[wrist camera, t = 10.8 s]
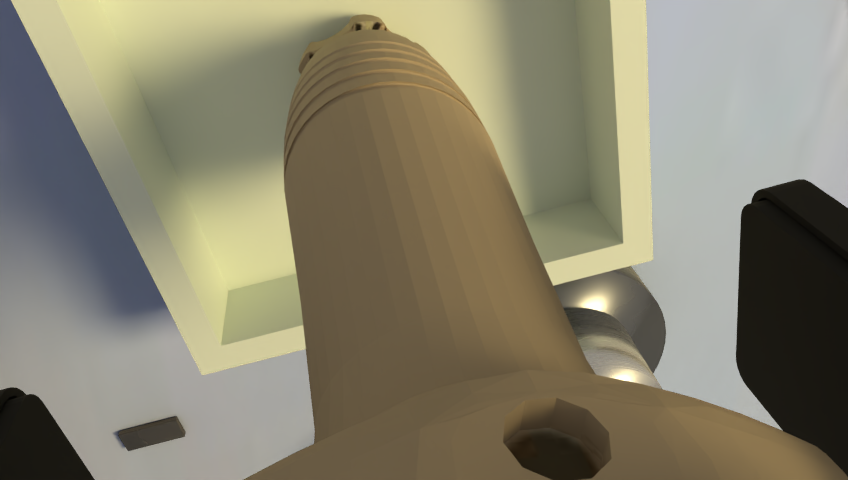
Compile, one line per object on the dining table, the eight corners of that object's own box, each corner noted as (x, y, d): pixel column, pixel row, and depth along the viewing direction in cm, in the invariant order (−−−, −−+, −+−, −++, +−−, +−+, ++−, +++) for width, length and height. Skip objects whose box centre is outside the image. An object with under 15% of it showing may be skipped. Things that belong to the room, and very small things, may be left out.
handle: (223, -28, 16) (39, 606, 4) (496, -22, 17) (1036, 487, 5) (240, 163, 19) (161, 909, 6) (477, 158, 20) (799, 789, 8)
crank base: (649, 376, 27) (667, 404, 26) (164, 501, 27) (157, 537, 25) (644, 221, 23) (664, 246, 22) (77, 365, 23) (65, 399, 22)
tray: (606, 199, 22) (652, 259, 20) (214, 298, 22) (202, 375, 19) (573, -291, 16) (637, -311, 13) (6, -156, 15) (-63, -143, 12)
